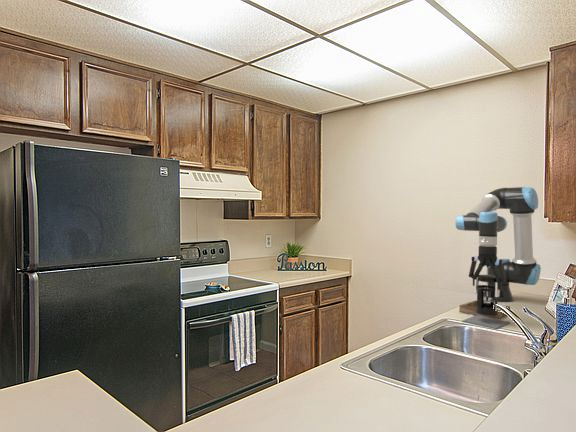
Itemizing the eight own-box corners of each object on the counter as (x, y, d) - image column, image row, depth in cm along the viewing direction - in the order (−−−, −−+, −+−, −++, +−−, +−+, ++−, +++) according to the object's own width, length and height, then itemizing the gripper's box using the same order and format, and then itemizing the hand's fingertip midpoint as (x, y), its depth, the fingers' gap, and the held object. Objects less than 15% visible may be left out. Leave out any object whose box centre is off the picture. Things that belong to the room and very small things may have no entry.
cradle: (475, 306, 218) (475, 300, 218) (510, 313, 205) (510, 306, 205) (459, 312, 207) (459, 305, 207) (495, 319, 194) (495, 312, 194)
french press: (483, 309, 196) (484, 261, 195) (503, 313, 188) (504, 263, 187) (469, 312, 189) (470, 262, 189) (488, 317, 181) (489, 265, 181)
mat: (477, 316, 199) (477, 315, 199) (510, 323, 188) (510, 321, 188) (462, 321, 189) (462, 320, 189) (496, 329, 178) (496, 327, 178)
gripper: (461, 244, 193) (460, 292, 194) (509, 247, 177) (508, 300, 178) (468, 243, 198) (467, 290, 199) (516, 247, 182) (514, 297, 183)
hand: (486, 294), depth 188 cm, fingers closed on french press, 9 cm apart
